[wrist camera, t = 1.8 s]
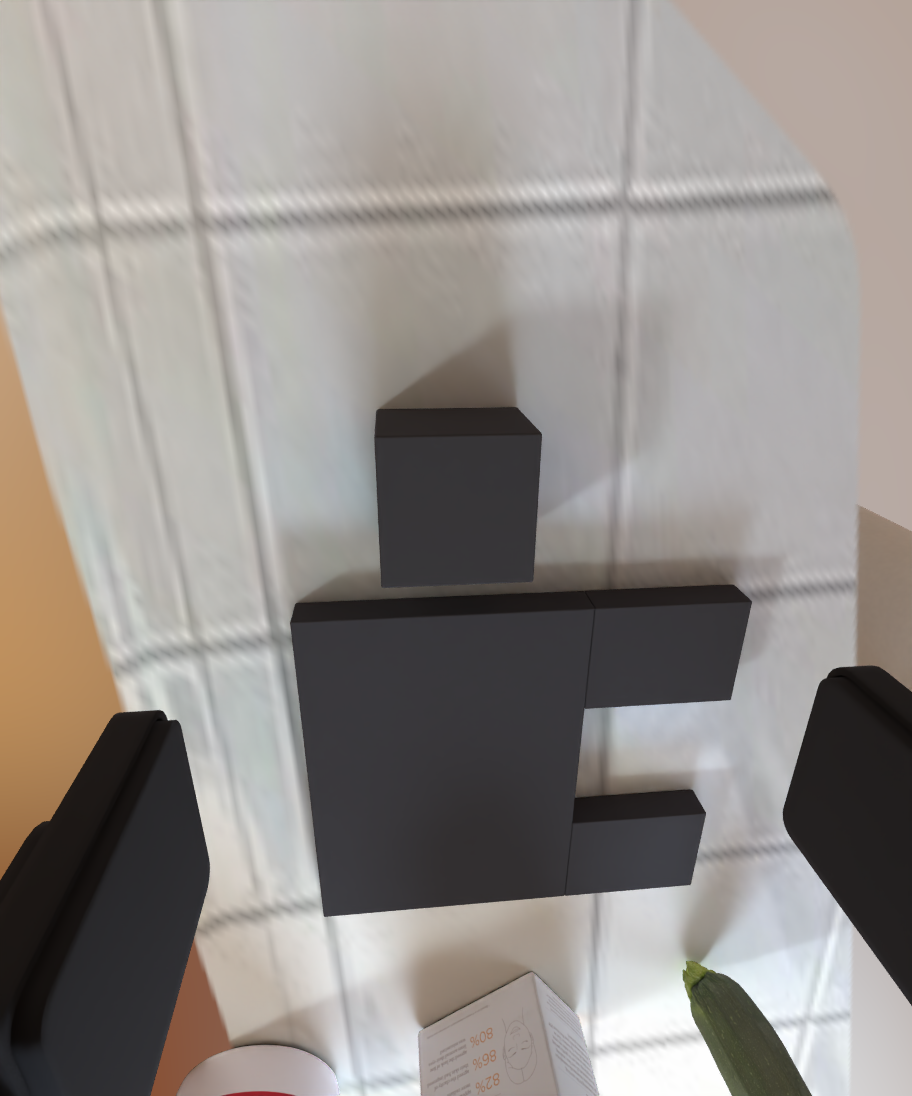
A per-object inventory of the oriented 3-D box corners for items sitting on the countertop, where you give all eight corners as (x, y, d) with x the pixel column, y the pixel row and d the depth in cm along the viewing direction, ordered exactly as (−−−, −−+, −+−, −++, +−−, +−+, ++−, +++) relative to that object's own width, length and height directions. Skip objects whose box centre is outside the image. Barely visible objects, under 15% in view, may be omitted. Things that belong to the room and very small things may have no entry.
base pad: (734, 584, 26) (752, 601, 25) (678, 859, 33) (690, 885, 32) (295, 602, 25) (289, 622, 23) (326, 889, 31) (323, 917, 30)
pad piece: (517, 406, 23) (542, 433, 19) (511, 536, 25) (533, 582, 21) (376, 408, 22) (374, 436, 19) (382, 540, 24) (381, 588, 21)
